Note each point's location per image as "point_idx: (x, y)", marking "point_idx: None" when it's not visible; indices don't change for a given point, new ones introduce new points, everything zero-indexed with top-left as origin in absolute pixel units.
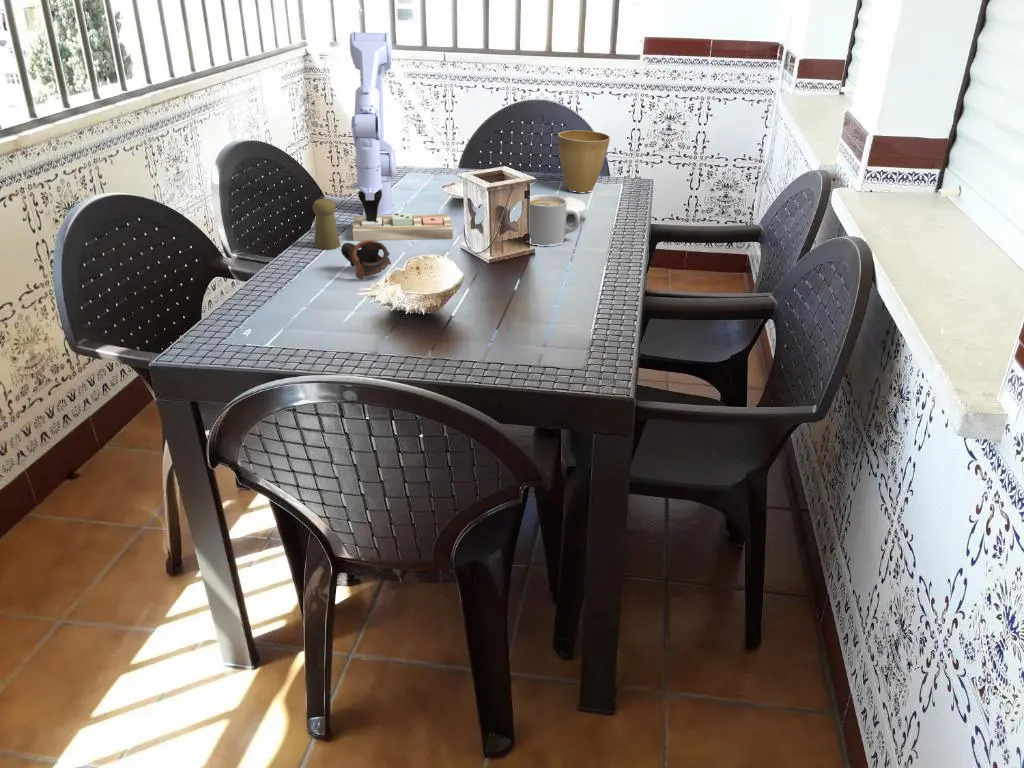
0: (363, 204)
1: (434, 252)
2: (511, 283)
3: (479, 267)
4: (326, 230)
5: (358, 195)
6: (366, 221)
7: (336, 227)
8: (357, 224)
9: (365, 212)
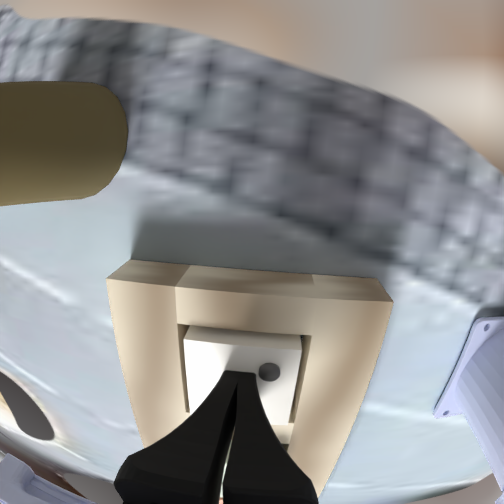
0: (165, 437)
1: (76, 442)
2: (6, 453)
3: (35, 457)
4: None
5: (133, 476)
6: (226, 365)
7: (20, 203)
8: (213, 313)
9: (204, 401)
